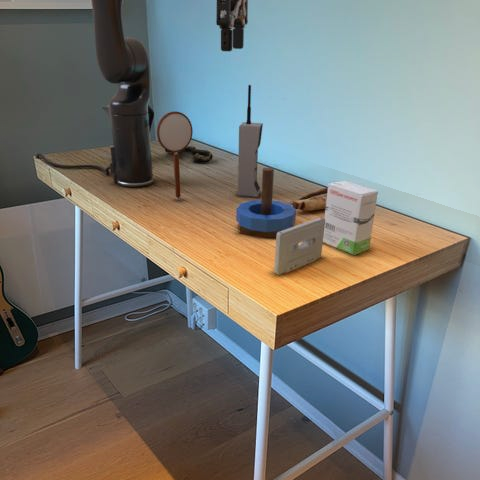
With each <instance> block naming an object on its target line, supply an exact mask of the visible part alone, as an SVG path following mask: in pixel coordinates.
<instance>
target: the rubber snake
mask: <svg viewBox="0 0 480 480" xmlns="http://www.w3.org/2000/svg"><path fill="white" fill-rule="evenodd" d="M164 151H165V153H167V154H170V153H172V152H170V151H167V150H166V149H164ZM180 152H181V153H191V154H192V155H193V156H192V159H193V162H195V163H197V164H206V163H209V162H211V161H212V160H213V157H214V156H213V154H212V152H211V151H209V150H208V149H207V150H206V149H200V148H199V149H198V148H196V147H195V146H193V145H191V146H190V145H188V146H187V147H186V148H185V149H183V150H182V151H179V152H178V153H180Z"/></svg>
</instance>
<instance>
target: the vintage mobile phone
mask: <svg viewBox="0 0 480 480" xmlns="http://www.w3.org/2000/svg"><path fill="white" fill-rule="evenodd" d="M247 87H248V88H247V89H248V90H247V108H246V121H242V123H240V125H239V126H238V156H237V157H238V160H237V161H238V164H237V166H238V167H237V195H238V197H249V198H258V196H259V195H260V194H261V193H260V192H261V187H260V185H259V182H258V156H259V149H260V146H261V141H262V134H263V127H264V124H263V123H262V122H252V119H251V117H252V106H251V103H252V102H251V101H252V99H251V98H252V84H248V85H247Z"/></svg>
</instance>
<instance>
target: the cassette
mask: <svg viewBox="0 0 480 480" xmlns="http://www.w3.org/2000/svg"><path fill="white" fill-rule="evenodd" d="M324 228H325V217H322V216H320V217H317V218H315V219H314V218H313V219H311V220H309V221H306V222H302V223H300V224H297V225H293V226H292V227H291V228H288V229H286V230H283V231H280V232H278V233H277V235H276V238H275V251H274V252H275V254H274V255H275V256H274V269H273V270H274V271H273V272H274V274H276V275H277V276H278V275H279V276H280V275H282V274H284V273H285V274H287V273H289V272H292V271H294V270H296V269H299V268H301V267H304V266H306V265H308V264H311V263H313V262H316V261H317V259H320V258H321V256H322V252H323V245H324V242H323V236H324ZM300 243H301V244H300Z"/></svg>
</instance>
